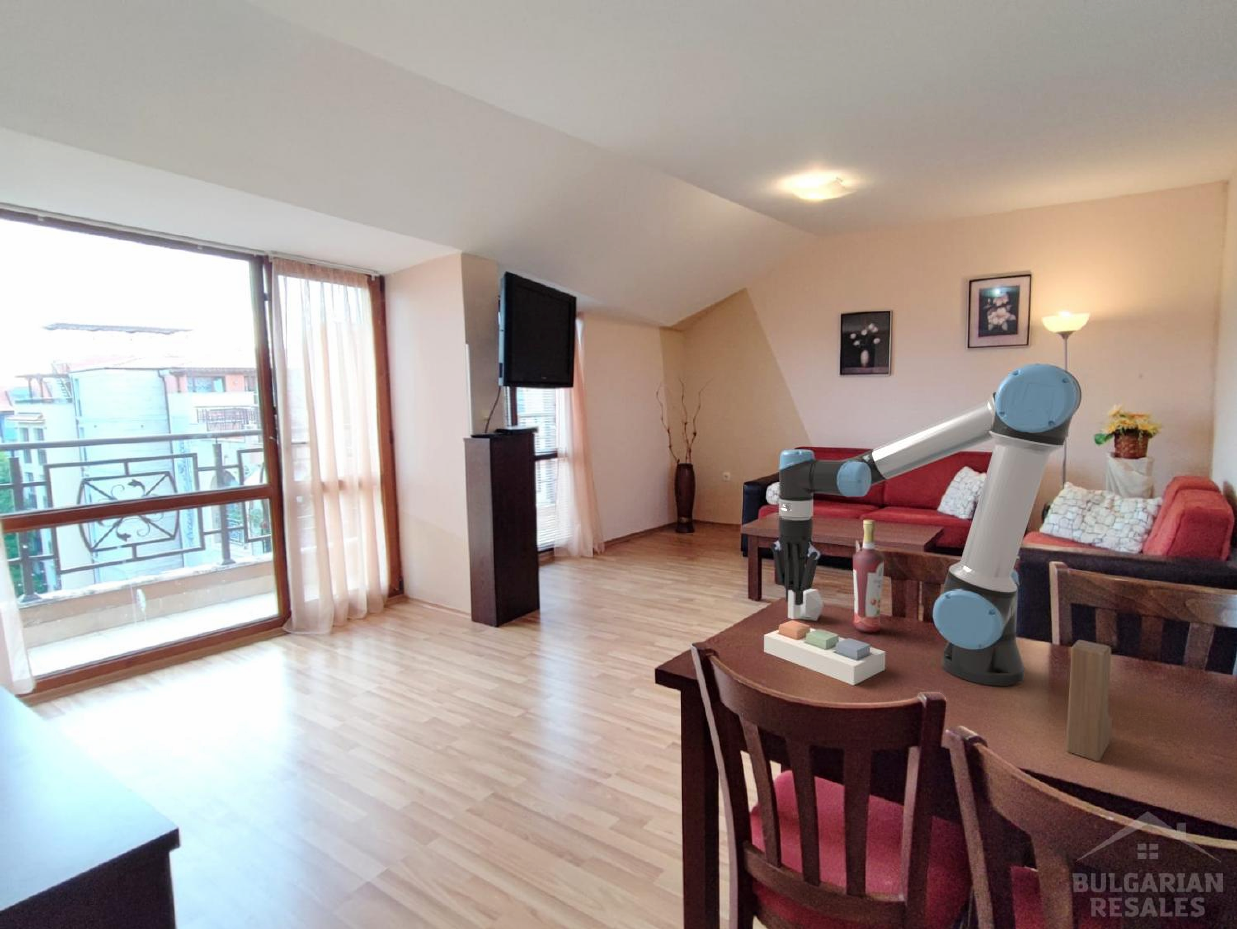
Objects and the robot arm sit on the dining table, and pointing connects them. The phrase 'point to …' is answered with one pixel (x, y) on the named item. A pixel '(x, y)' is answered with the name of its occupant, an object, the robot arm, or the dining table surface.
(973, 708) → the dining table surface
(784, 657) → the control panel
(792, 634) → the terracotta button
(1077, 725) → the wooden block
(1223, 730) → the dining table surface
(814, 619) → the die
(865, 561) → the liquor
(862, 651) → the slate button
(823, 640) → the sage button
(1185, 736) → the dining table surface
